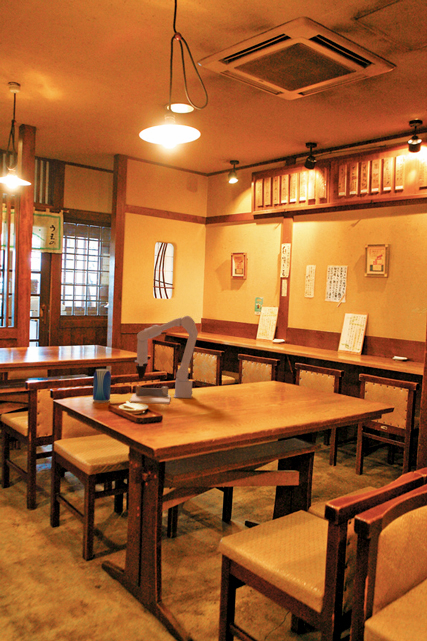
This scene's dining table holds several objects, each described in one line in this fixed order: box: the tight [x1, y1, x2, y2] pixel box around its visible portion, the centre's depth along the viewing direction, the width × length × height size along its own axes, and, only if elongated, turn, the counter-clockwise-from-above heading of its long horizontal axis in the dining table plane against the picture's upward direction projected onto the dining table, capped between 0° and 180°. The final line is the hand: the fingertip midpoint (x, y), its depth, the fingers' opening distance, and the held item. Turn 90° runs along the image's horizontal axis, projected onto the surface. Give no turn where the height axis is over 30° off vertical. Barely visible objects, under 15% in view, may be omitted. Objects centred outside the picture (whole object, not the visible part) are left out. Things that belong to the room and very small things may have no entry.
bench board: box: [129, 393, 171, 405], centre depth 263 cm, size 20×18×1 cm
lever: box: [135, 385, 169, 396], centre depth 268 cm, size 17×4×5 cm, turn 93°
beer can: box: [92, 368, 112, 404], centre depth 252 cm, size 8×8×16 cm
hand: (141, 377), depth 274 cm, fingers open, 7 cm apart
